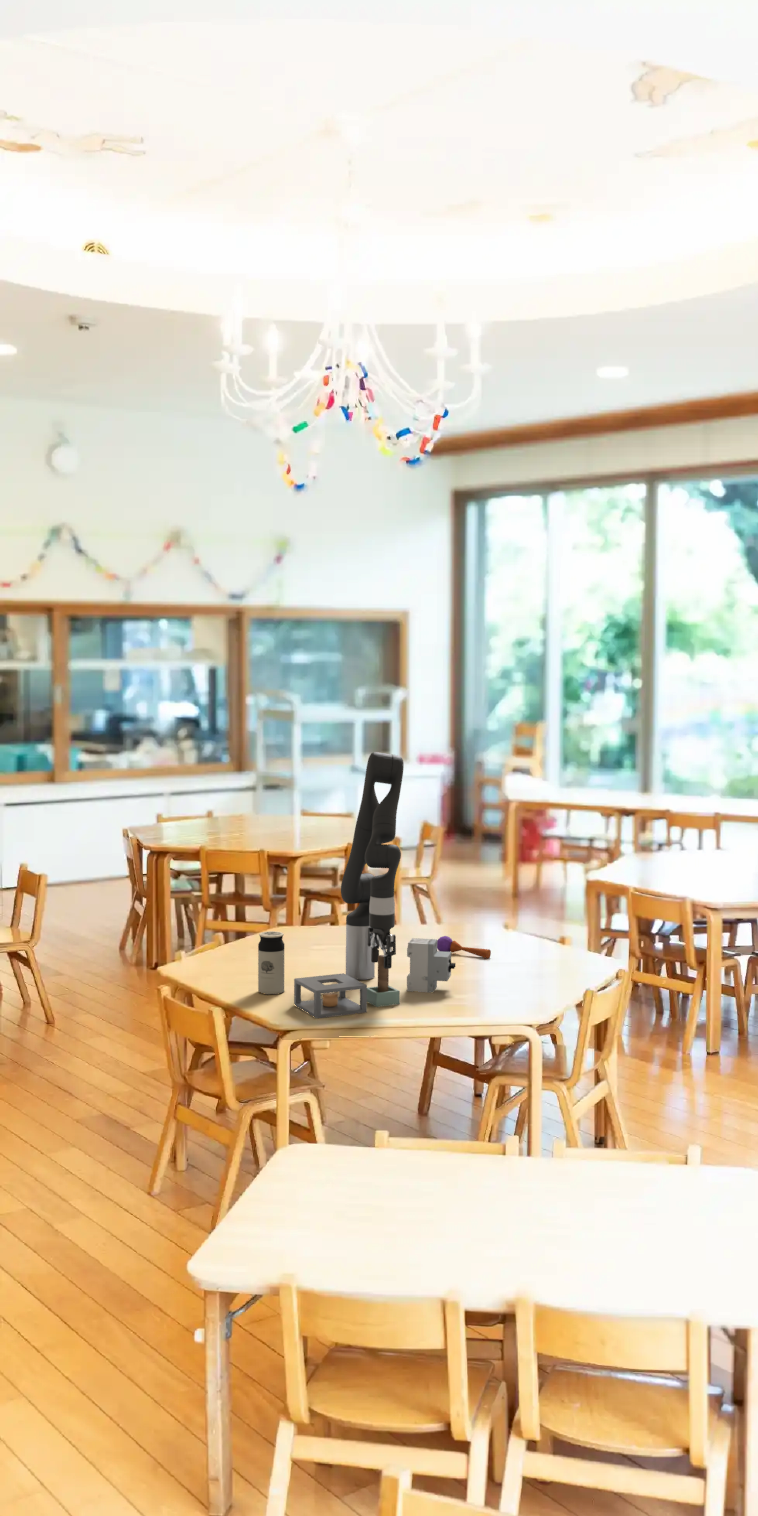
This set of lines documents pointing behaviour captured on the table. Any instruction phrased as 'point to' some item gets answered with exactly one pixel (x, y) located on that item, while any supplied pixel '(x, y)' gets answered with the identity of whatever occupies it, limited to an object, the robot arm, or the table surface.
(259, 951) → the travel mug
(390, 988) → the holder
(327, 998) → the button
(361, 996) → the gray open box frame
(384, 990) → the brown rounded rod
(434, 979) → the circuit breaker
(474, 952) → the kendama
